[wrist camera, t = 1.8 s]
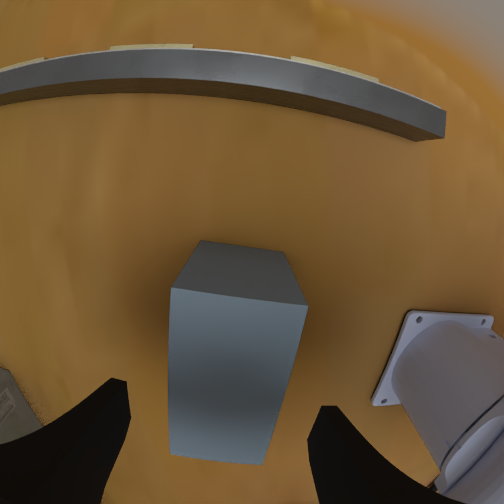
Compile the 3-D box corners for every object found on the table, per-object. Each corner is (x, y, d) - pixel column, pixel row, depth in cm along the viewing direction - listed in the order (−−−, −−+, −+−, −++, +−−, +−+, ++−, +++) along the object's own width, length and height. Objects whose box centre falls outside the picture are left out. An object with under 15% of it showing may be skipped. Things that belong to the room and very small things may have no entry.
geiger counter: (-88, 443, 5) (65, 573, 12) (-62, 470, 5) (107, 589, 12) (-14, 364, 19) (90, 503, 25) (22, 369, 19) (127, 511, 25)
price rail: (418, 109, 14) (446, 101, 11) (415, 141, 15) (444, 138, 12) (-11, 83, 13) (-36, 77, 10) (-17, 109, 13) (-43, 106, 10)
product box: (284, 251, 16) (309, 305, 10) (257, 381, 19) (263, 464, 12) (201, 239, 16) (170, 287, 9) (189, 373, 18) (169, 453, 12)
